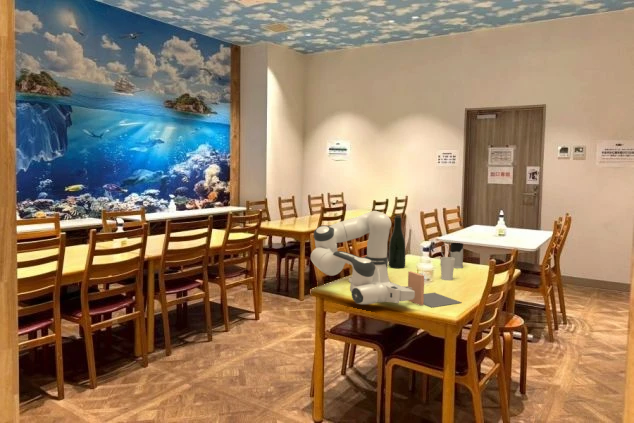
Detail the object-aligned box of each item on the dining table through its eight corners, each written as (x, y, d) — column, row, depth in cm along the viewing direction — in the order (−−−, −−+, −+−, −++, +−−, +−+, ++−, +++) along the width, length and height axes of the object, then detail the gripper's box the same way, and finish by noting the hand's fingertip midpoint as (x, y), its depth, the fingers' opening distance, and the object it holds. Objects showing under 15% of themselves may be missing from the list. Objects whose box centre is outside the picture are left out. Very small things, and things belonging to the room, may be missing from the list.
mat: (431, 307, 229) (431, 307, 229) (405, 297, 247) (405, 296, 247) (461, 303, 237) (461, 302, 237) (434, 293, 255) (434, 292, 255)
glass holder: (462, 268, 314) (463, 245, 313) (439, 267, 319) (440, 243, 318) (463, 266, 322) (464, 243, 321) (441, 264, 327) (442, 241, 326)
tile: (420, 305, 233) (421, 275, 231) (407, 300, 242) (408, 271, 240) (423, 305, 233) (424, 275, 232) (410, 299, 242) (411, 271, 241)
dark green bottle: (408, 266, 319) (409, 215, 316) (399, 269, 312) (400, 216, 308) (394, 264, 326) (395, 214, 323) (385, 266, 318) (386, 215, 315)
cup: (456, 280, 283) (456, 259, 281) (442, 280, 282) (443, 259, 281) (451, 277, 290) (452, 256, 289) (437, 277, 290) (438, 257, 289)
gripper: (373, 293, 239) (397, 290, 245) (398, 304, 221) (423, 300, 227) (373, 280, 238) (397, 277, 244) (398, 290, 220) (424, 286, 226)
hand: (410, 288), depth 235 cm, fingers closed
